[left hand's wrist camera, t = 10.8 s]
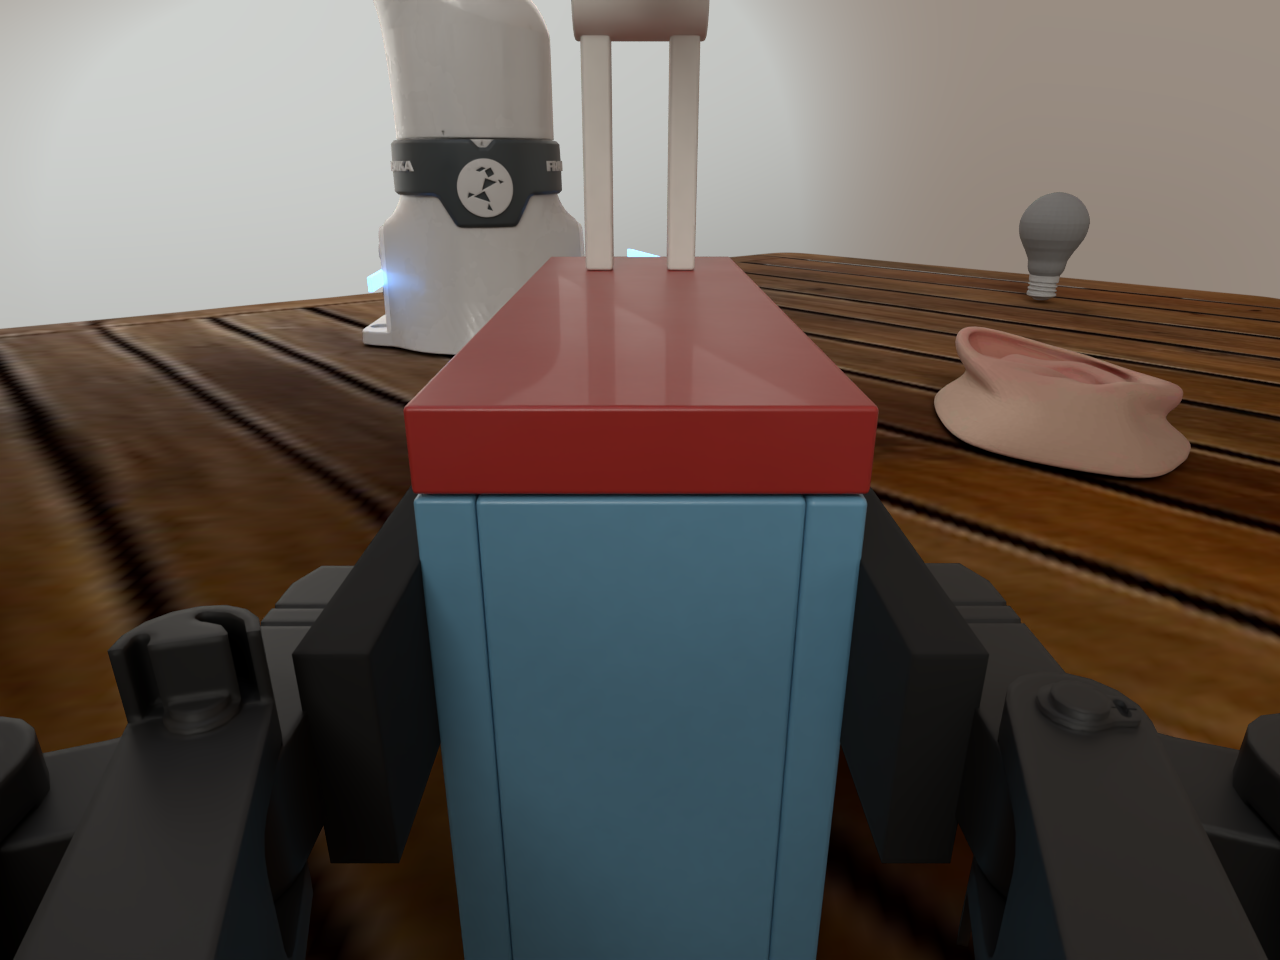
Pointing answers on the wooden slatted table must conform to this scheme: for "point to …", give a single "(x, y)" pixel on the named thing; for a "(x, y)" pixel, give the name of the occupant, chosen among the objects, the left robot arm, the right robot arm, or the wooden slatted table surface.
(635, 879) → the chest
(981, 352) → the anatomical model
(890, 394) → the wooden slatted table surface
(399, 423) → the wooden slatted table surface
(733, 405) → the lid
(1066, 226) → the light bulb
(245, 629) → the left robot arm
